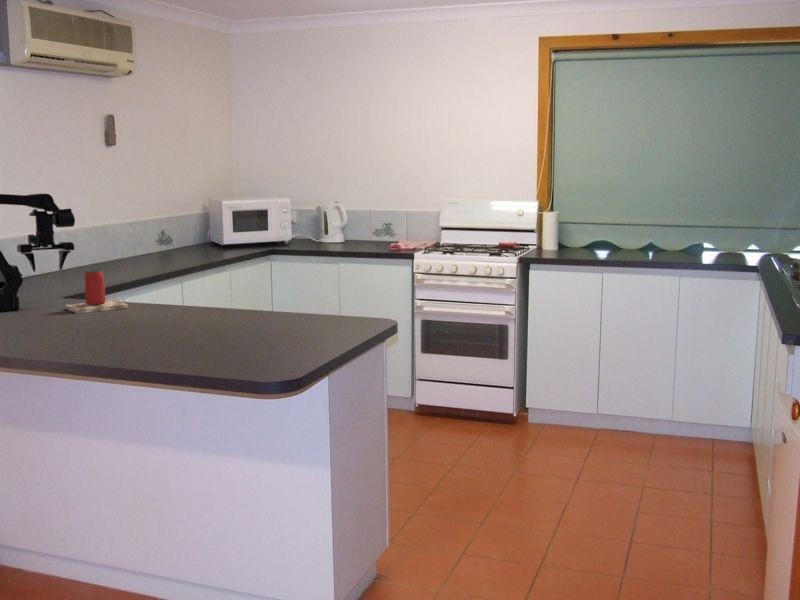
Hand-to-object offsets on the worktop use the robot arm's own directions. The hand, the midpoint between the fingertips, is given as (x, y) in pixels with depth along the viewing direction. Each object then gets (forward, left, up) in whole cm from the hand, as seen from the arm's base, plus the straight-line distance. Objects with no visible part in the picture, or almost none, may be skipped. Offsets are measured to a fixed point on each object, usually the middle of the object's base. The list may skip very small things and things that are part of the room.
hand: (47, 270), depth 310 cm
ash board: (+11, -19, -13) cm, 26 cm away
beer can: (+11, -19, -11) cm, 25 cm away
